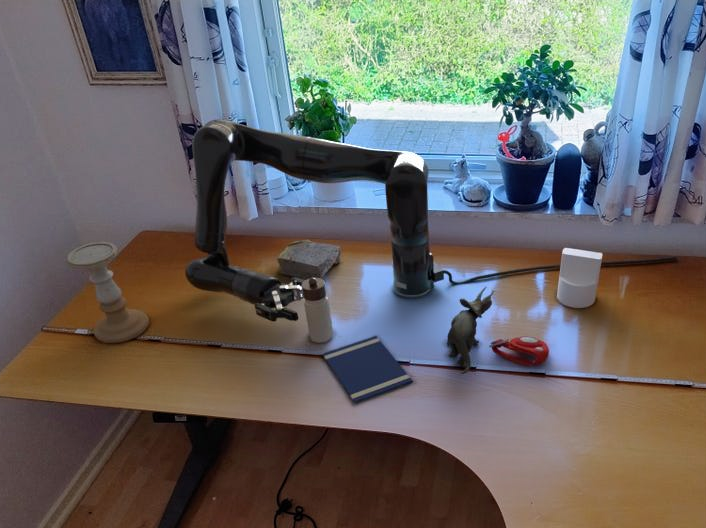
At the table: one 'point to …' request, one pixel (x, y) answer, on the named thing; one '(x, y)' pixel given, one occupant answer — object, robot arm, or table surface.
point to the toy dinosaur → (466, 329)
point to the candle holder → (108, 294)
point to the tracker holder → (522, 349)
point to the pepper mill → (317, 310)
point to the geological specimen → (308, 259)
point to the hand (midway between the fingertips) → (309, 307)
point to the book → (366, 369)
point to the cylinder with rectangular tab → (578, 277)
